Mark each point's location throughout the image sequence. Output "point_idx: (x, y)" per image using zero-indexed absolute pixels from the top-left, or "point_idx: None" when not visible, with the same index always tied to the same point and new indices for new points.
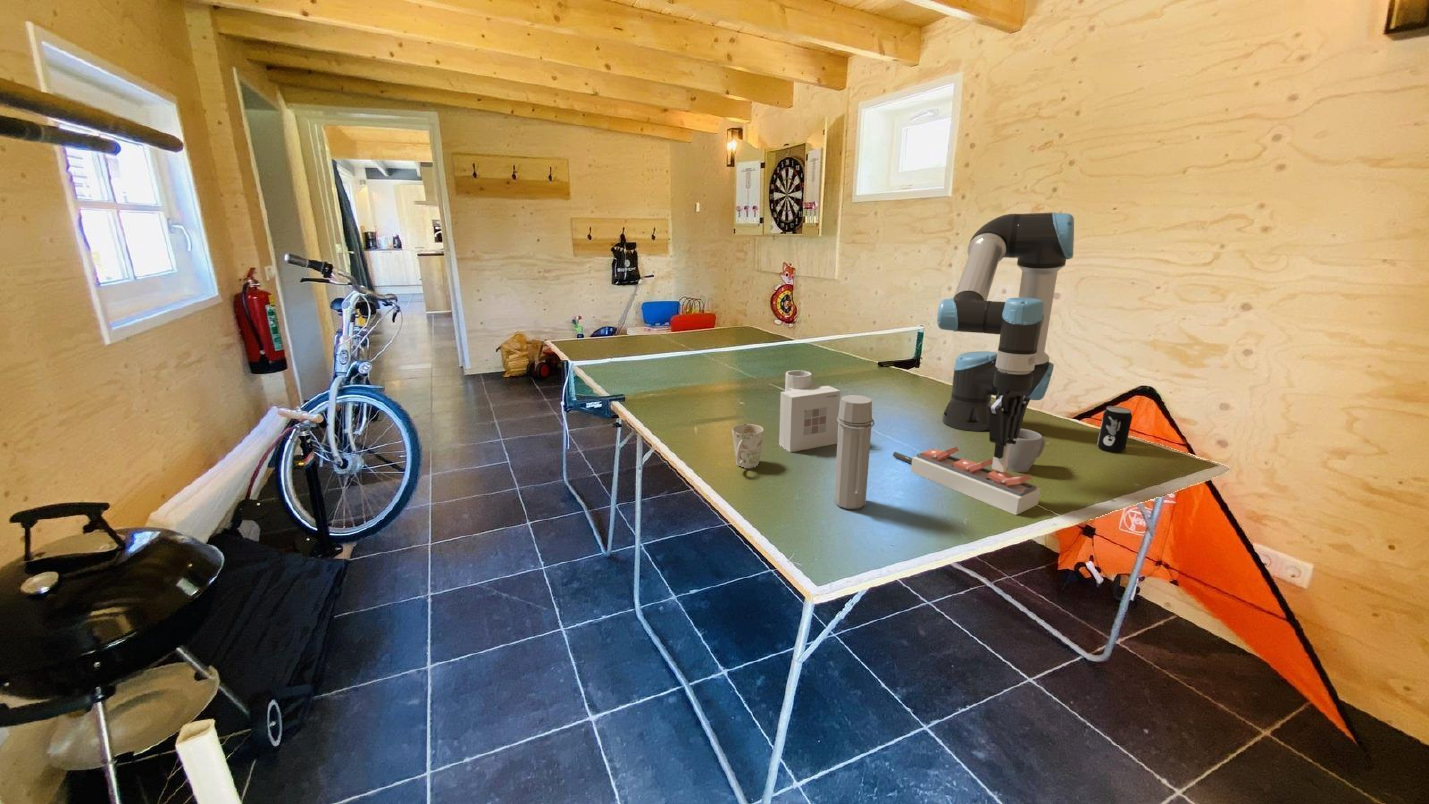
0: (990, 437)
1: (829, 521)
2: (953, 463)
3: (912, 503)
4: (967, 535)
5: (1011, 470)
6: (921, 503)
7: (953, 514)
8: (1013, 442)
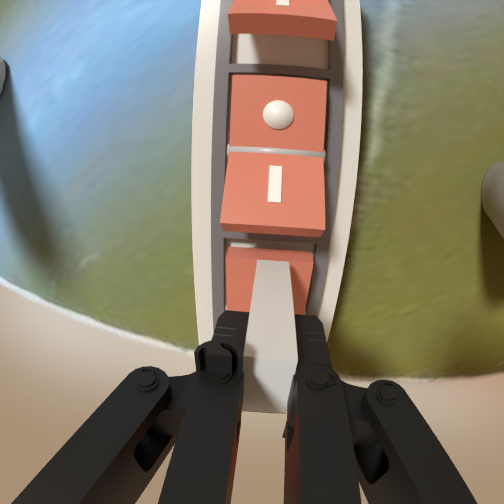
0: (114, 398)
1: None
2: (233, 76)
3: (54, 133)
4: (59, 290)
5: (482, 186)
6: (67, 143)
7: (86, 226)
8: (283, 436)
